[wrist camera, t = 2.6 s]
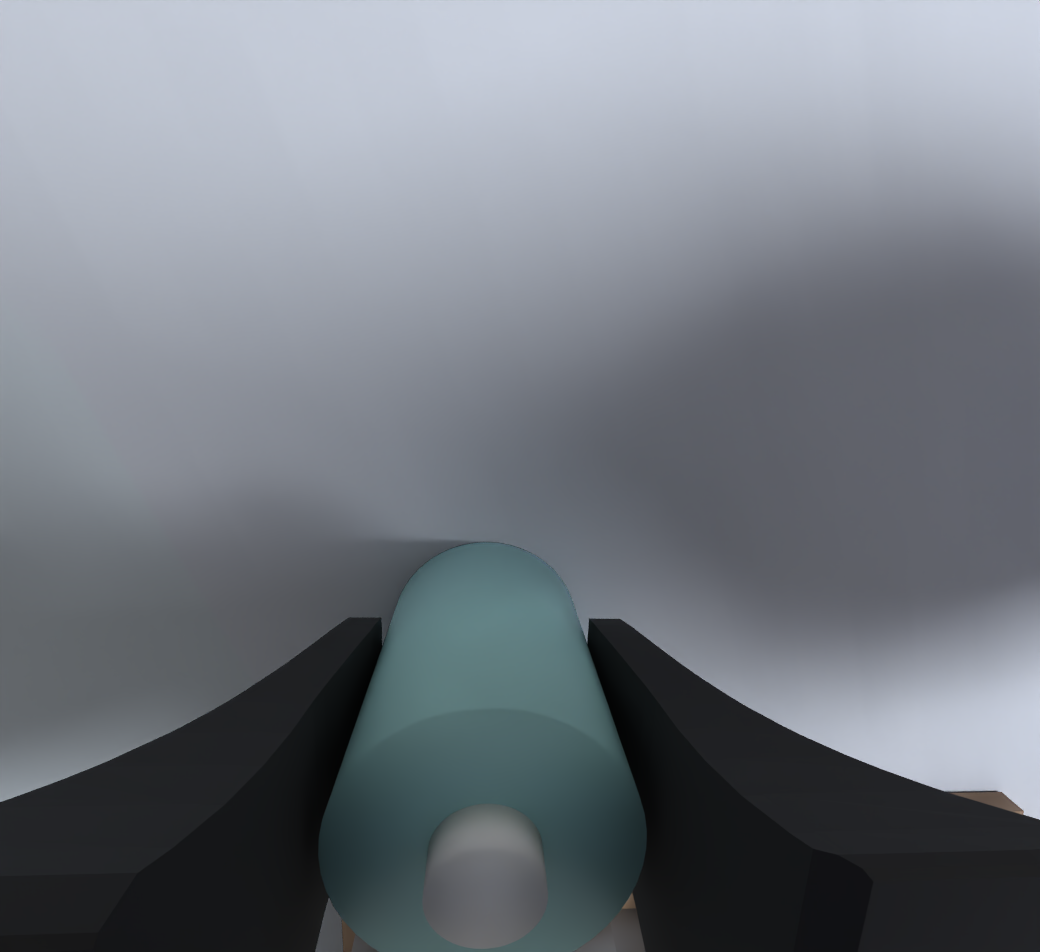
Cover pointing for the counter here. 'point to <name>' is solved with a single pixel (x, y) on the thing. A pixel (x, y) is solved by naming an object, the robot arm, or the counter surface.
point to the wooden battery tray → (622, 938)
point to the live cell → (483, 772)
